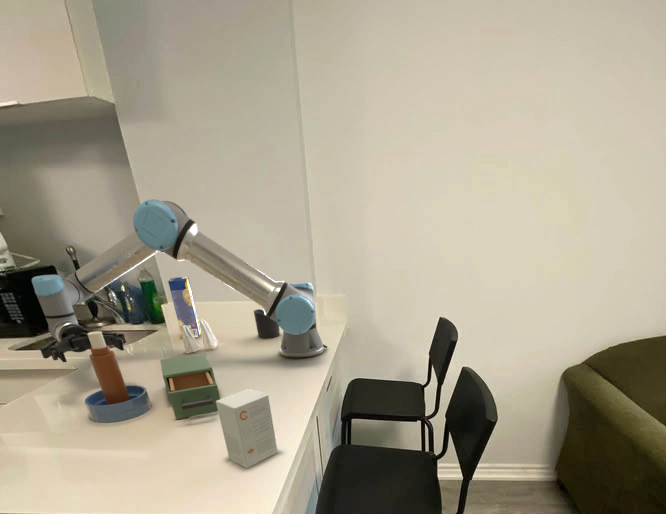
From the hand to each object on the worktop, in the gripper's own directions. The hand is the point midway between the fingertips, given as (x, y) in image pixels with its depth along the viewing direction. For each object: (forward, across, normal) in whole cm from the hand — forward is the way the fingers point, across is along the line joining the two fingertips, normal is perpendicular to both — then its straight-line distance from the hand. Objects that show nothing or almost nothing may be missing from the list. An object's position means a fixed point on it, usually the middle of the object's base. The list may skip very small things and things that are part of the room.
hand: (93, 350), depth 109 cm
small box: (+54, -13, -15) cm, 58 cm away
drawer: (+23, -15, -14) cm, 30 cm away
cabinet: (+9, -19, -14) cm, 26 cm away
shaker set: (-31, -40, -15) cm, 53 cm away
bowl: (+9, 0, -15) cm, 17 cm away
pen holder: (-30, -69, -15) cm, 77 cm away
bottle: (+9, 0, -14) cm, 17 cm away
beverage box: (-58, -48, -15) cm, 77 cm away
